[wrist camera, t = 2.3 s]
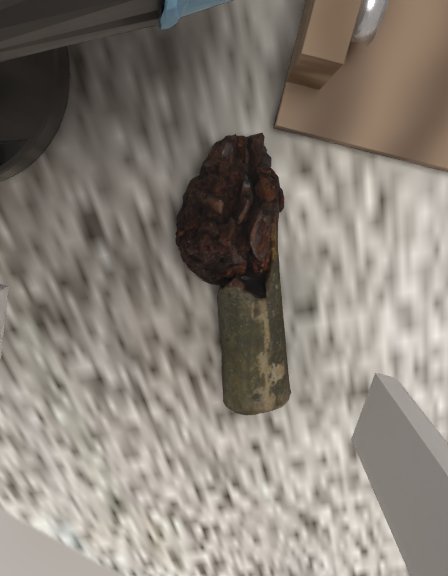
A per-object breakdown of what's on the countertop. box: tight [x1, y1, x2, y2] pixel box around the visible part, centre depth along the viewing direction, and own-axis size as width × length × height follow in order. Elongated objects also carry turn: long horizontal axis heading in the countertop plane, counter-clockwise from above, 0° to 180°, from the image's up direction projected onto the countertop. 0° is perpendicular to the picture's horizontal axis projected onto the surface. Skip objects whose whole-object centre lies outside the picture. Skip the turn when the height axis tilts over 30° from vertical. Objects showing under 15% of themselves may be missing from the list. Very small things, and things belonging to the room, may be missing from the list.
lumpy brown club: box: [176, 133, 291, 415], centre depth 27 cm, size 18×7×6 cm, turn 4°
